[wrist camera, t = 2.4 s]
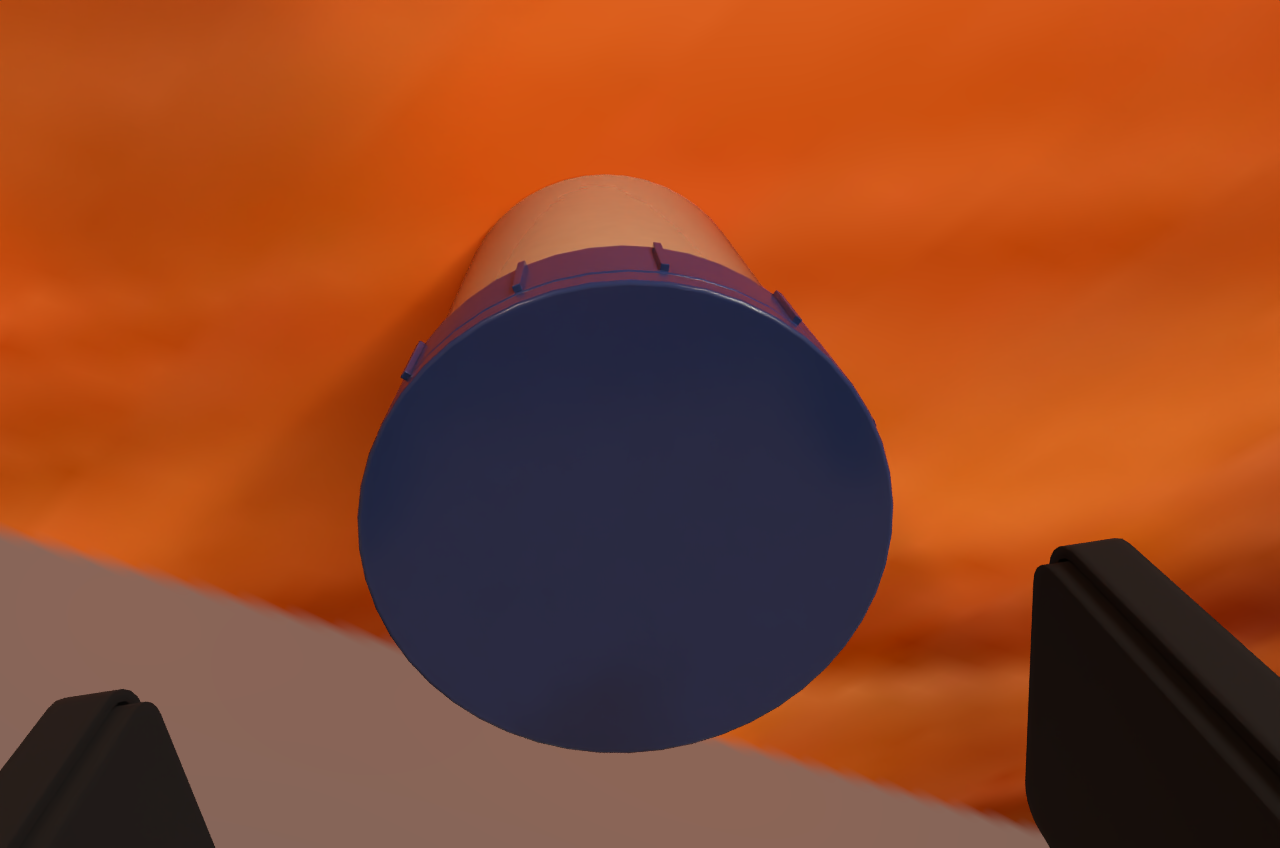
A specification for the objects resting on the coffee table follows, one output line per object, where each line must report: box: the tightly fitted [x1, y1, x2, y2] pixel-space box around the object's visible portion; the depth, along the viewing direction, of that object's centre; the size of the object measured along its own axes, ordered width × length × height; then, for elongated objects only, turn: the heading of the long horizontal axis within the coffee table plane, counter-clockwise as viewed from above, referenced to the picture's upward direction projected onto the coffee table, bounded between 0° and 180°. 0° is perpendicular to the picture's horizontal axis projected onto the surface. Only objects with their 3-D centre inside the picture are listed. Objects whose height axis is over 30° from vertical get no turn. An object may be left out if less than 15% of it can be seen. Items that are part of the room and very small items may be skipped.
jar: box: [446, 175, 762, 318], centre depth 17 cm, size 7×7×10 cm
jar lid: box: [357, 242, 893, 753], centre depth 13 cm, size 7×7×2 cm
